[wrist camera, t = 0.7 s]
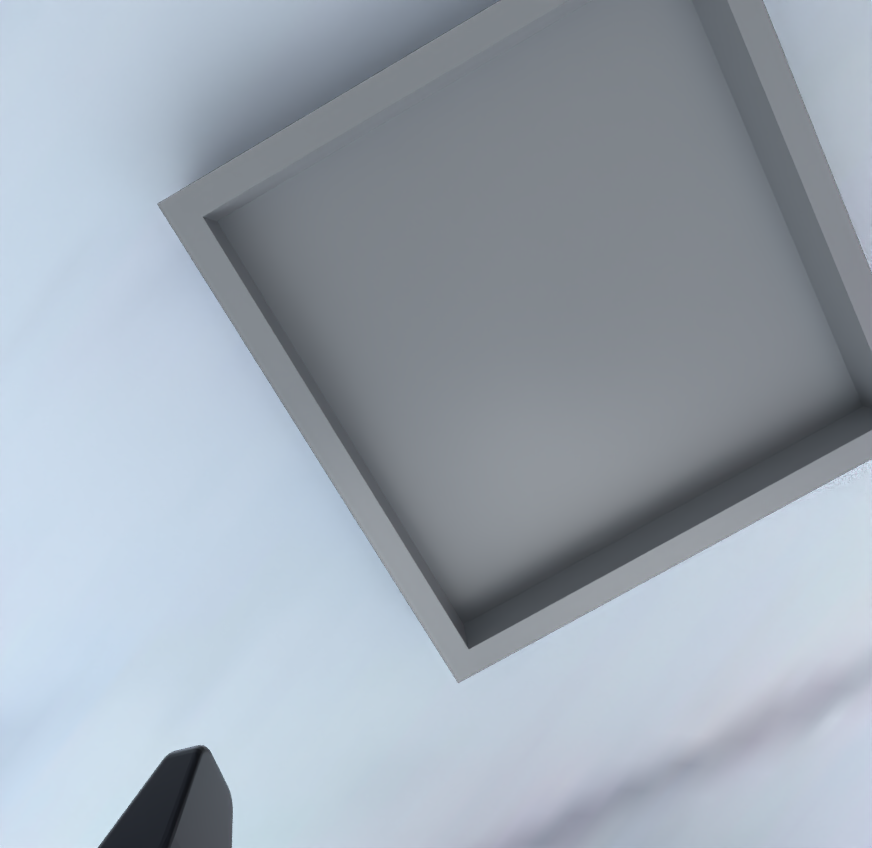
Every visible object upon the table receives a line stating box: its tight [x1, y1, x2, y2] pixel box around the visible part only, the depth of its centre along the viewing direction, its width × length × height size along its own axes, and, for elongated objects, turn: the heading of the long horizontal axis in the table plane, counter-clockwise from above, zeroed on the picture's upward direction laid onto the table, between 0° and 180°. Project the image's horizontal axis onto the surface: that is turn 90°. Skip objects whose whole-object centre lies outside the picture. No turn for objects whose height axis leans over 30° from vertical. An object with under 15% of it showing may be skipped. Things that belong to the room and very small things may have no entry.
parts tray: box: [158, 0, 872, 683], centre depth 20 cm, size 16×16×2 cm
